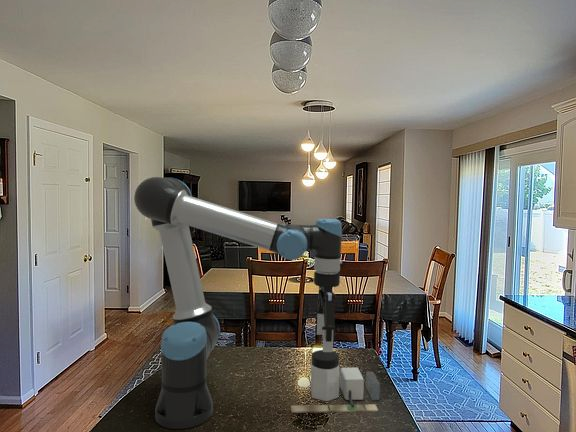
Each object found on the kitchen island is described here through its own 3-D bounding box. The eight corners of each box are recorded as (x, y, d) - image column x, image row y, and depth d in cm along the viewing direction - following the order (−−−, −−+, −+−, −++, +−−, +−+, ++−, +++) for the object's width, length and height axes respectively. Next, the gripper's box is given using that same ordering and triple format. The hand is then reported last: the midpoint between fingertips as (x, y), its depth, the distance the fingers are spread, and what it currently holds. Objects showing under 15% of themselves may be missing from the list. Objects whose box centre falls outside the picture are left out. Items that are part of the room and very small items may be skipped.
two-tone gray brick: (372, 400, 122) (373, 383, 121) (366, 387, 130) (366, 371, 129) (379, 400, 122) (379, 383, 121) (372, 387, 130) (372, 371, 129)
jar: (321, 404, 119) (321, 363, 118) (304, 392, 126) (305, 353, 125) (345, 396, 124) (345, 356, 123) (327, 385, 131) (328, 347, 130)
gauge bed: (291, 412, 114) (291, 411, 114) (290, 407, 117) (290, 405, 117) (378, 411, 116) (378, 409, 116) (375, 405, 119) (375, 404, 119)
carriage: (347, 408, 117) (348, 387, 116) (339, 386, 129) (340, 367, 129) (367, 407, 117) (367, 386, 116) (357, 386, 129) (357, 367, 129)
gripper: (348, 281, 110) (344, 360, 112) (332, 264, 135) (330, 328, 136) (319, 281, 110) (316, 359, 111) (309, 263, 135) (307, 328, 136)
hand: (324, 342), depth 124 cm, fingers open, 13 cm apart
